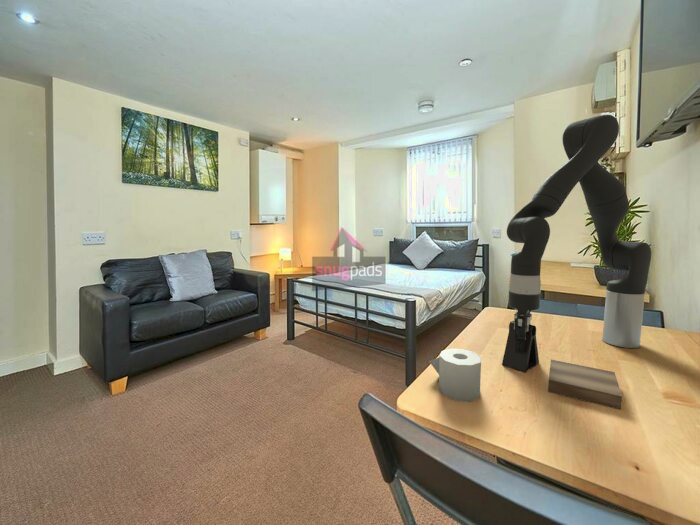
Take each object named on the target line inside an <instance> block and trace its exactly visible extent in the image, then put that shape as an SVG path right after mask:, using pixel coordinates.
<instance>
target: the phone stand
mask: <svg viewBox="0 0 700 525" xmlns="http://www.w3.org/2000/svg"><path fill="white" fill-rule="evenodd" d="M514 323H515V321H514V320H510V321H509V324H508V334H507V340H506V343H505V349H504V352H503V358H502V361H501V362H502V363H501V365H502V366H505V367H507V368H509V369H513V370H516V371H519V372H521V373H524V374H526V373H527V372H528V371H530V370H532V369H534V368H535V367H536V366H538V365H539V364H540V358H539V351H538V350H539V349H538V342H537V327H536V325H533V324H531V325H529V332H528V333H526V341H525V353H524V354H520V353H516V352H515V345H516V339H514ZM526 327H527V326H526ZM518 335H521V336H523V333H522V332H518Z"/></svg>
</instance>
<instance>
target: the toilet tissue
mask: <svg viewBox="0 0 700 525" xmlns="http://www.w3.org/2000/svg"><path fill="white" fill-rule="evenodd" d="M428 362H429V364H430V365H431V367H433V368H434V370H435V371H436V373H437V374H438V390H439V391H440V393H442V395H443V396H445V397H447V398H449V399H452V400H453V401H457V402H473V401H475V400H478V399H480V397H481V396H480V395H481V377H482V376H481V374H482V356H481V355H479V354H477V353H476V352H474V351H471V350H467V349H463V348H447V349H444V350H441V351H440V353H439V356H438V357H436V358H433V359H431V360H429V361H428Z"/></svg>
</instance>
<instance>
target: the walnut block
mask: <svg viewBox="0 0 700 525" xmlns="http://www.w3.org/2000/svg"><path fill="white" fill-rule="evenodd" d="M547 381H548V384H547V392H549V393H552V394H557V395H560V396H565V397H568V398H572V399H575V400H580V401H584V402H588V403H591V404H592V403H593V404H597V405H600V406H604V407H607V408H612V409H617V410H620V411H621V410H622V403H623V395H622V391H621V388H620V385H619V382H618V379H617V375H616V372H615V371H611V370H606V369H601V368H595V367H591V366H586V365H582V364H576V363H571V362H565V361H560V360H555V359H550V364H549V374H548V380H547Z"/></svg>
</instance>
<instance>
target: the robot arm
mask: <svg viewBox="0 0 700 525" xmlns="http://www.w3.org/2000/svg"><path fill="white" fill-rule="evenodd" d="M562 133H563V134H562V136H561V138H562V146H563V149H564V152H565V154H566V157H567V158H568V161H567V162H566V163H564V164H563V165H562V166H561V167H559V168H558V169H556V170H555V171H554V172H552V173H551V174H550V175H549V176H548V177H547V178H546V179H545V180H544V181H543V182H542V183H541V185H540V186H539V187H538V189H537V190H536V192H535V193H534V194H533V197H532V198H531V199H530V201H529V202H527V203H526V204H525V205H524V206H523V207H522V208H521V209H519V211H517V213H516V214H514V215H513V216H512V218H511V219H510V221H509V222H508V224H507V226H506V227H507V228H506V236H507V238H508V239H509V240H510V241H511V242H513V243H516V244H517V243H518V244H523V246H522V249H521V251H518V252H515V253H513V254H512V256H511V258H510V259H511V262H510V276H509V284H508V300H507V302H508V306H509V307H510V308H512V309H516V310H517V311H515V313H514V316H513V321H515V323H514V339H516V345H515V352H516V353H520V354H524V353H525V341H526V333H528V332H529V325H532V319H533V318H532V316H533V314H532V313H531V312H532V311H536V310H539V309H540V305H541V304H540V303H541V287H542V282H541V281H542V280H541V268H542V267H541V266H542V258H543V257H544V256H543V255H544V254H545V251H546V248H547V245H548V242H549V240H550V235H551V228H550V224H549V222H548V221H547V220H546V219H547V218H550V217H552V216H554V215H556V213H558V211H559V210H560V208H561V207H562V205H563V204H564V202H565V201H566V199H567V198H568V196H569V195H570V193H571V192H572V191H573V190H574V188H575V187H576V186H577V184H580V187H581V191H582V192H583V196H584V200H585V204H586V208H587V209H588V212H589V215H590V217H591V219H592V222H593V225H594V229H595V231H596V236H597V241H598V246H599V250H600V255H601V259H602V262H603V264H604V265H605V267H606V268H608V269H611V270H614V271H615V270H617V271H624V272H625V271H627V272H628V273H627V276H625V277H623V278H619V279H613V280H609V281H607V283H606V288H605V289H606V290H605V291H606V292H605V305H604V313H603V314H604V315H603V327H602V337H601V339H602V340H601V341H603V342H604V343H606V344H609V345H612V346H616V347H618V348H619V347H621V348H627V349H637V348H640V345H641V338H642V337H641V336H642V326H643V319H644V318H643V317H644V306H645V295H646V289H647V288H646V287H647V284H648V280H649V272H650V266H651V262H652V261H651V260H652V249H651V248H652V247H651V246H650V245H649V244H648V243H647V242H644V241H643V242H642V241H620V240H619V239H618V237H617V230H618V228H619V227H620V224H621V223H622V222H623V220H624V218H626V215H627V213H628V211H629V208H630V202H629V199H628V195H627V192H626V188H625V186H624V185H623V182H621V180H619V179H618V178H617V177H616V176H615V175H613V174H612V173H611V172H610V171H608V170H607V169H606V168H605V167H603V166H602V165H601V164H600V162H599V160H601V159H602V158H603V156H605V154H606V153H608V151H609V150H610V149H611V148H612V146H613V145H614V144H615V142H616V140H617V139H618V136H619V134H620V123H619V121H618V119H617V118H616V117H615V116H614V115H612V114H602V115H597V116H593V117H589V118H585V119H581V120H577V121H573V122H572V123H569V124H568V125H567V126H566V127H565V128H564V129H563V132H562ZM526 326H527V327H526ZM518 332H522V333H523V336H521V335H518Z"/></svg>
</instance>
